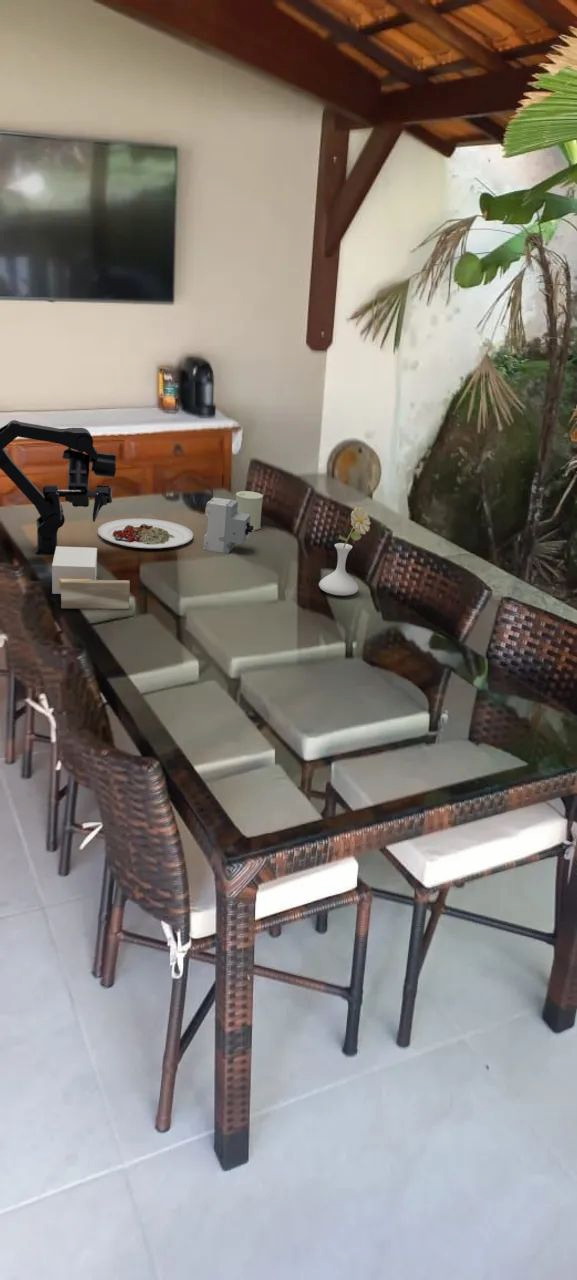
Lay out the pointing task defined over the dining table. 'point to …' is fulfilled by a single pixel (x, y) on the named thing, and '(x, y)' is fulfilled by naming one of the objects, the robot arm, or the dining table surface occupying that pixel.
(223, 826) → the dining table surface
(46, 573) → the dining table surface
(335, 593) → the flower in vase
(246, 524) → the circuit breaker
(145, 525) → the plated food
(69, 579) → the rail latch
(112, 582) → the board
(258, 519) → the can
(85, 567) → the box
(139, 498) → the dining table surface
